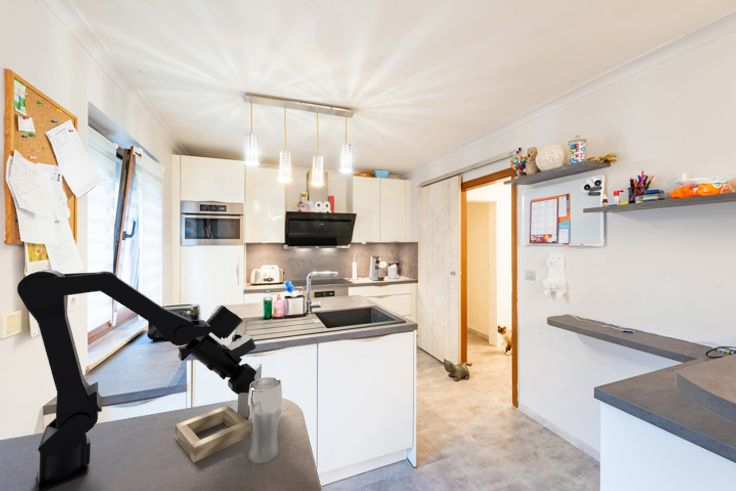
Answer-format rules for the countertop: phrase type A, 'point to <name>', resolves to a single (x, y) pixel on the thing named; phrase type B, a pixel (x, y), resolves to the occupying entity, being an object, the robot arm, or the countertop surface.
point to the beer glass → (264, 418)
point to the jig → (215, 442)
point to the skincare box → (243, 397)
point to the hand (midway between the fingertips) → (255, 385)
